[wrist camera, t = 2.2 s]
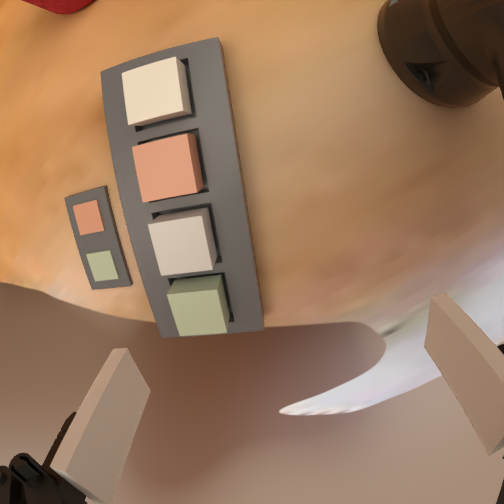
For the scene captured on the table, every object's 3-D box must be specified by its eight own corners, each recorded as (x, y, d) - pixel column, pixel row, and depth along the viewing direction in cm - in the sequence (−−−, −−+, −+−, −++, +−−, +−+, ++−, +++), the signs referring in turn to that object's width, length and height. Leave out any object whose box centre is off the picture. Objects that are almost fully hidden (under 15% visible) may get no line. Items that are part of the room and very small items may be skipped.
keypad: (113, 76, 25) (100, 71, 22) (222, 46, 24) (218, 37, 21) (168, 323, 35) (161, 337, 33) (263, 315, 34) (264, 330, 32)
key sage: (174, 279, 30) (166, 294, 27) (221, 274, 30) (217, 289, 27) (186, 319, 32) (179, 336, 29) (229, 315, 32) (227, 332, 29)
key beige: (159, 215, 28) (147, 224, 25) (207, 207, 28) (201, 215, 25) (170, 262, 30) (161, 275, 27) (217, 256, 29) (212, 269, 26)
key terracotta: (145, 145, 25) (131, 146, 22) (195, 134, 25) (186, 133, 22) (154, 195, 27) (142, 202, 24) (204, 186, 27) (197, 192, 24)
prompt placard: (67, 196, 30) (63, 198, 29) (106, 185, 29) (102, 187, 28) (94, 287, 34) (90, 290, 33) (132, 283, 34) (130, 287, 33)
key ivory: (135, 78, 23) (121, 73, 20) (184, 65, 23) (175, 56, 20) (141, 126, 25) (128, 125, 22) (191, 113, 24) (183, 110, 21)
